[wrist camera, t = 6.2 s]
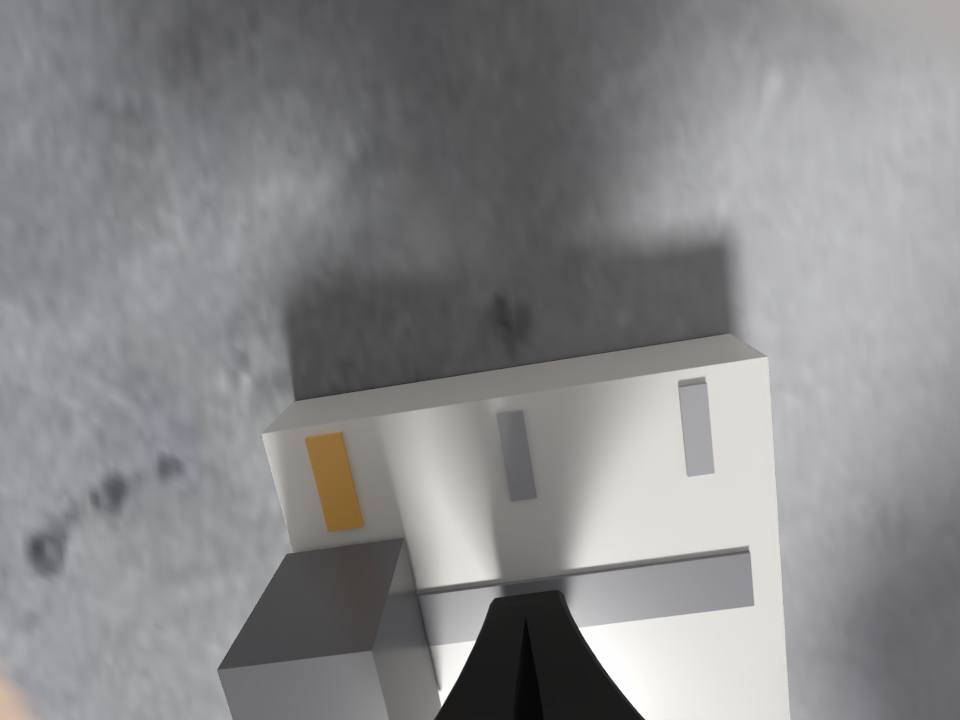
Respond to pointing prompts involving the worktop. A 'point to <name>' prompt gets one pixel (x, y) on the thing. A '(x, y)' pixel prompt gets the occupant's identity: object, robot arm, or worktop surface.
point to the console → (571, 511)
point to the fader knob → (334, 641)
